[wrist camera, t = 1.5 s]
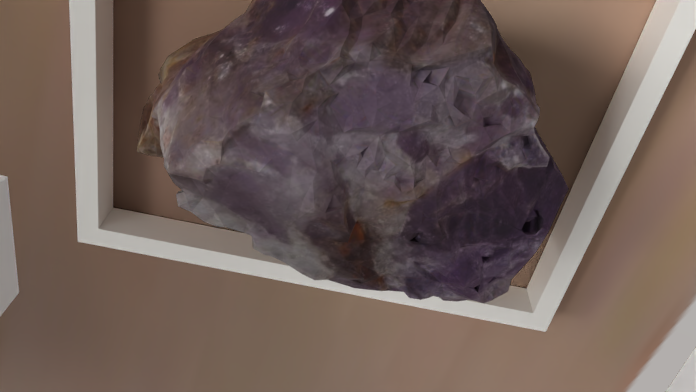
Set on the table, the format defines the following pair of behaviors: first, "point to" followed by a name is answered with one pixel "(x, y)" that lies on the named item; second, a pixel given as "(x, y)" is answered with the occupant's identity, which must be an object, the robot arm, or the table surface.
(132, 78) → the table surface
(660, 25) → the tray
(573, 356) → the table surface
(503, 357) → the table surface
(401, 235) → the rock
